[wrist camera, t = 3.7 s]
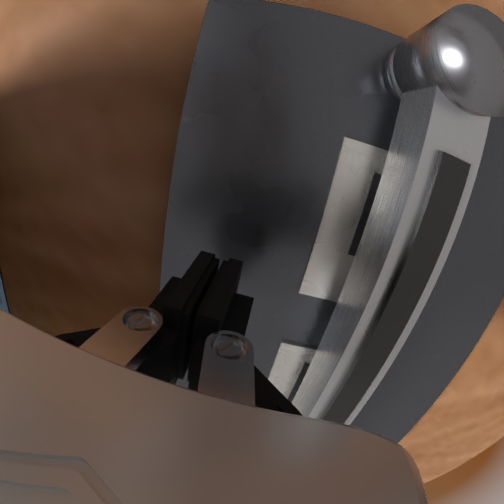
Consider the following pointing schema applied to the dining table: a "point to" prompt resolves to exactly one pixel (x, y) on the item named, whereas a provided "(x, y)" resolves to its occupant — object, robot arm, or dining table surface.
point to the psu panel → (316, 195)
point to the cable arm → (411, 205)
